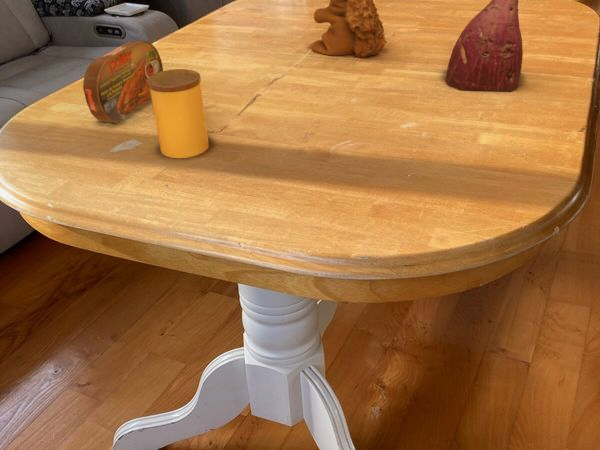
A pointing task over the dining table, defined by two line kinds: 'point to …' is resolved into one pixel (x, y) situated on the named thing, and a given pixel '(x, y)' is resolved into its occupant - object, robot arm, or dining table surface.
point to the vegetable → (488, 51)
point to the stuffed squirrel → (350, 29)
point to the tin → (120, 80)
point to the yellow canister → (179, 112)
